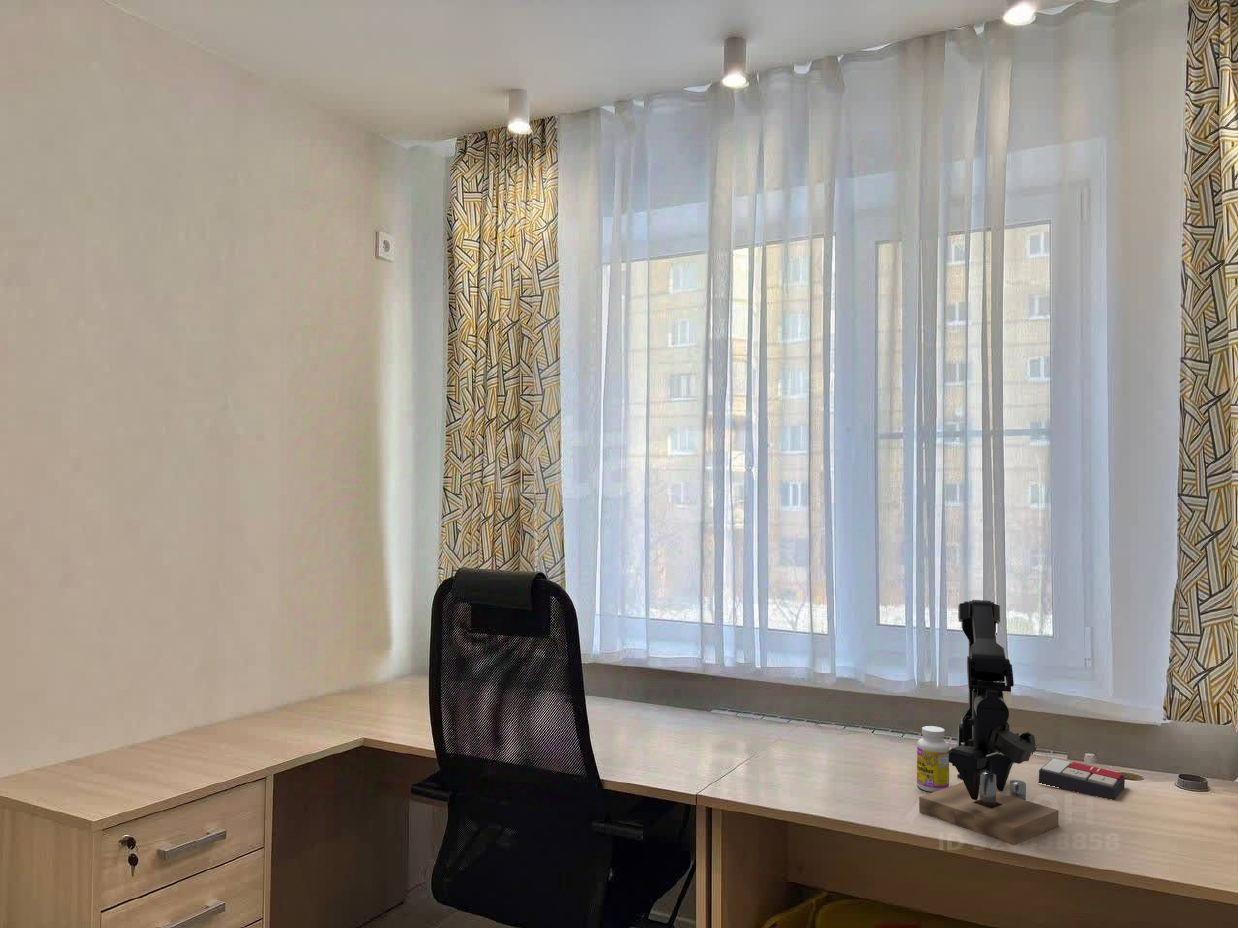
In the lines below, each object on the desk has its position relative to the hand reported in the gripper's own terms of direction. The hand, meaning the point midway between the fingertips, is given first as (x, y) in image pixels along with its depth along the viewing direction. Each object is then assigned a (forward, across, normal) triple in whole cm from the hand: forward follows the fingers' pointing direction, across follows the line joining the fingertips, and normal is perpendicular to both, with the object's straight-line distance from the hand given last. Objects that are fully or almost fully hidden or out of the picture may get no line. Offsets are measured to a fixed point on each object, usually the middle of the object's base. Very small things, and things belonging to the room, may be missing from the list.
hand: (987, 794), depth 175 cm
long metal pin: (+5, 0, 0) cm, 5 cm away
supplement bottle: (+5, +7, +17) cm, 19 cm away
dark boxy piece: (+5, +36, -1) cm, 36 cm away
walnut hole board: (+5, 0, 0) cm, 5 cm away
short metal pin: (+5, +13, +1) cm, 14 cm away
